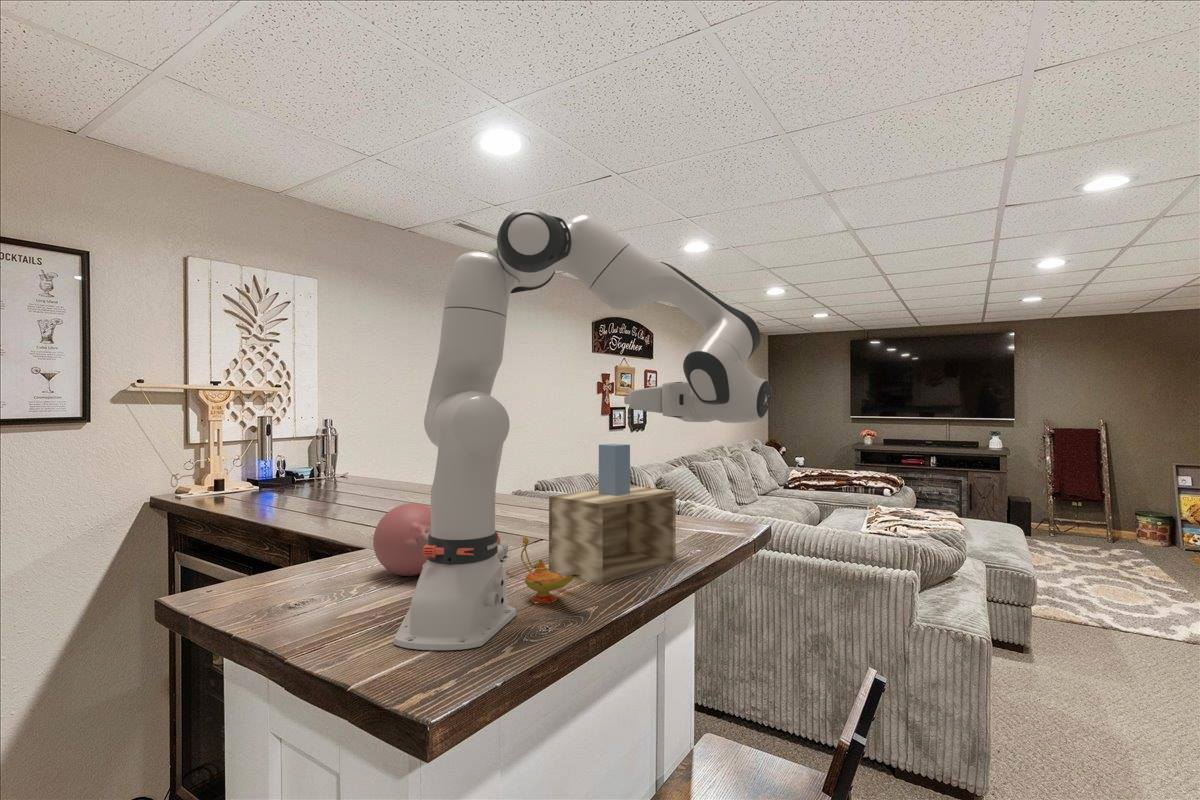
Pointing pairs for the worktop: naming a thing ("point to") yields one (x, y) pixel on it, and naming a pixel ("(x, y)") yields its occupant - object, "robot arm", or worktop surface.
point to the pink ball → (403, 538)
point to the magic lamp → (543, 579)
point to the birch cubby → (611, 533)
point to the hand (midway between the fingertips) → (640, 400)
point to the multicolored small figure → (501, 549)
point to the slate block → (614, 469)
